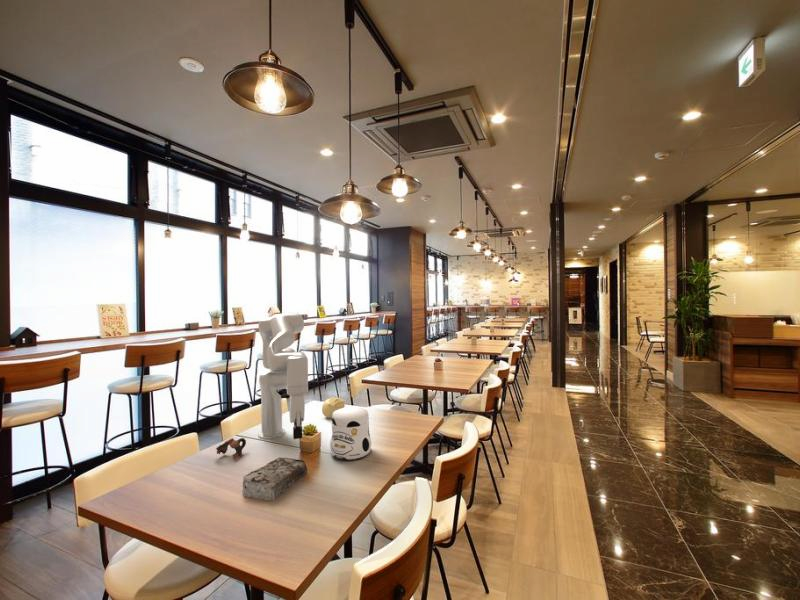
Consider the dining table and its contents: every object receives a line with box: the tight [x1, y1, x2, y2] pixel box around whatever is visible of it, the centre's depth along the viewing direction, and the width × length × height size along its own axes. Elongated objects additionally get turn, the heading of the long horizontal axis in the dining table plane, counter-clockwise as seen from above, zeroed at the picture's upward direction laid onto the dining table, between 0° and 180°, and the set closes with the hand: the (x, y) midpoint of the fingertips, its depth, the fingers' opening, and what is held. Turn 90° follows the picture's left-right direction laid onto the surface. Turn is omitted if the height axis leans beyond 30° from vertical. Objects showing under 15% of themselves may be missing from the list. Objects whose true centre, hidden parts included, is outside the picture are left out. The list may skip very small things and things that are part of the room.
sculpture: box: [321, 396, 346, 419], centre depth 197 cm, size 11×12×11 cm
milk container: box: [329, 406, 372, 462], centre depth 148 cm, size 17×17×18 cm
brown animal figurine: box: [215, 437, 247, 460], centre depth 149 cm, size 12×9×8 cm
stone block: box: [241, 456, 308, 501], centre depth 124 cm, size 13×7×20 cm
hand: (297, 437), depth 130 cm, fingers closed
